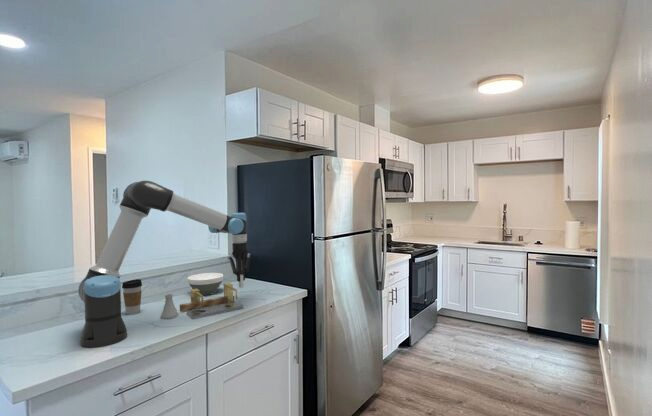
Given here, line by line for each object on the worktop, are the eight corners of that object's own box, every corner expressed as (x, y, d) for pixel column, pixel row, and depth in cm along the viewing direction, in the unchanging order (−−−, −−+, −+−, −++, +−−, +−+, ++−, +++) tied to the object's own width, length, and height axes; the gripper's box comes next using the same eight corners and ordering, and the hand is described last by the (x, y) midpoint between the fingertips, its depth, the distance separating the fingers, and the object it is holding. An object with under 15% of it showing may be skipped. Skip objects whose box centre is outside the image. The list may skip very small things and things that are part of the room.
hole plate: (192, 319, 156) (192, 316, 156) (186, 314, 163) (186, 311, 163) (243, 308, 170) (243, 305, 170) (236, 304, 177) (236, 301, 177)
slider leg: (234, 306, 172) (233, 288, 171) (223, 300, 183) (223, 283, 183) (240, 305, 173) (239, 287, 173) (229, 299, 185) (229, 282, 184)
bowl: (210, 287, 216) (209, 271, 216) (231, 291, 205) (230, 274, 205) (180, 294, 201) (180, 277, 200) (201, 299, 189) (201, 281, 189)
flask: (171, 319, 156) (170, 297, 156) (157, 319, 157) (156, 296, 157) (181, 314, 163) (180, 293, 163) (167, 314, 164) (166, 292, 164)
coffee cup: (145, 311, 169) (144, 280, 168) (126, 316, 162) (125, 283, 162) (139, 308, 174) (138, 278, 174) (120, 312, 168) (119, 281, 168)
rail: (187, 317, 159) (186, 297, 158) (179, 310, 170) (178, 291, 170) (242, 306, 174) (241, 287, 174) (231, 300, 185) (230, 283, 185)
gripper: (230, 243, 178) (232, 290, 179) (254, 241, 186) (255, 286, 187) (225, 242, 184) (226, 287, 185) (248, 240, 192) (249, 284, 193)
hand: (241, 287), depth 186 cm, fingers closed
